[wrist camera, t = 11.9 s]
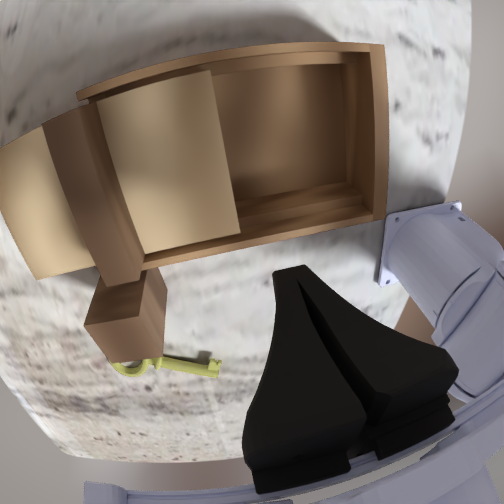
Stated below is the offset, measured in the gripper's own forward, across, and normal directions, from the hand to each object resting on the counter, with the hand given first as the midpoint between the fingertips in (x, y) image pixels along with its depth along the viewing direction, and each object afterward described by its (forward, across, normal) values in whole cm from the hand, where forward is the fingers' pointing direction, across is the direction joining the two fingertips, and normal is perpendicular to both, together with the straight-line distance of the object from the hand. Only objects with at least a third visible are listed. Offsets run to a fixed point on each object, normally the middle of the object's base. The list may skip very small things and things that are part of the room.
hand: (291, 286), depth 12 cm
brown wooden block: (+10, +10, +5) cm, 15 cm away
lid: (+7, +9, -4) cm, 12 cm away
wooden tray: (+10, +3, -4) cm, 12 cm away
